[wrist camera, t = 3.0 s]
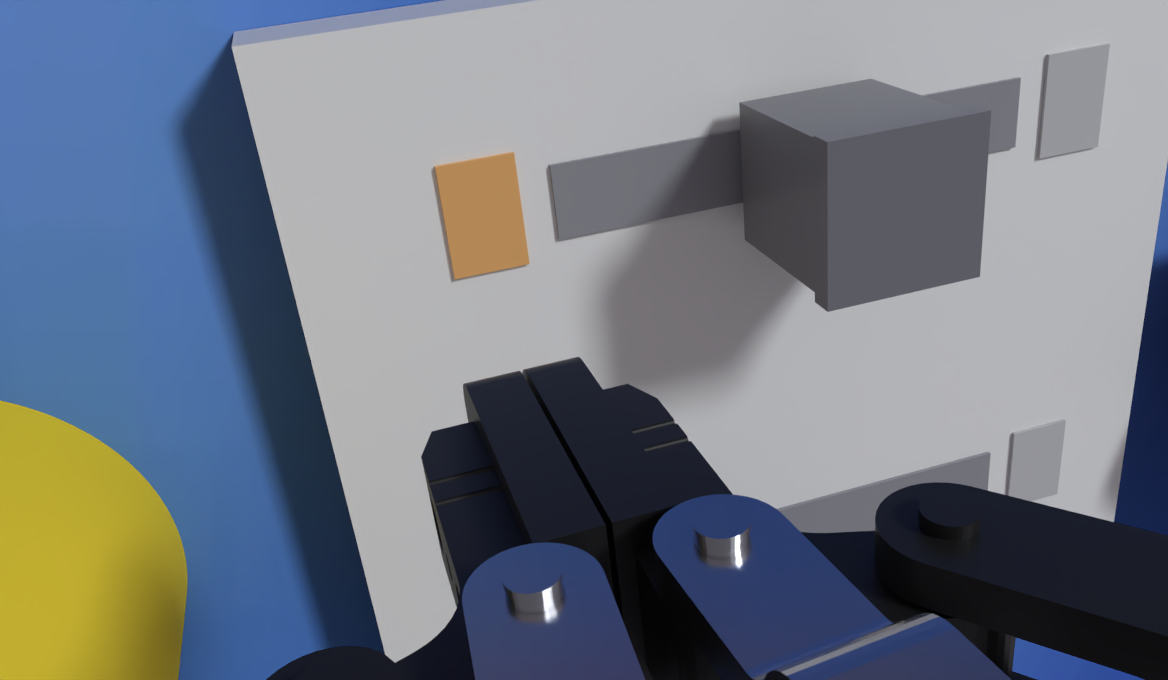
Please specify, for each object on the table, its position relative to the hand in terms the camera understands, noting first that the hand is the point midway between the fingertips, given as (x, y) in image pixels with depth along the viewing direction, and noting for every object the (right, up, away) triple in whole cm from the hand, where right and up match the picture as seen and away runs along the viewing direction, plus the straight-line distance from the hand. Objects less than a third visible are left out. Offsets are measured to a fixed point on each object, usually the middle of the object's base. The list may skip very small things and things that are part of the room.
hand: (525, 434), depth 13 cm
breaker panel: (+5, +2, +13) cm, 14 cm away
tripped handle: (+5, +5, +9) cm, 12 cm away
